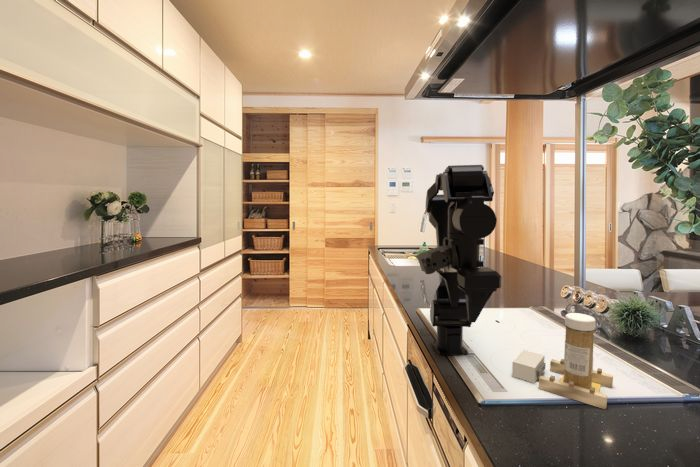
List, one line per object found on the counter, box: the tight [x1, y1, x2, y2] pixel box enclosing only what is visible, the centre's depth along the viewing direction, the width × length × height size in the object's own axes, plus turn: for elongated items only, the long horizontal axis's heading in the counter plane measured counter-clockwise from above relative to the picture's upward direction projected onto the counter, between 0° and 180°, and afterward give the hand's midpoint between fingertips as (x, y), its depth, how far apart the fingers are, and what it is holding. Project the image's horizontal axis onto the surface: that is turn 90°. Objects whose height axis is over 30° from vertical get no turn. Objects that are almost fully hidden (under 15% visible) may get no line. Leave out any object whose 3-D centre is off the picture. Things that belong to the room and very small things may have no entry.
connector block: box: [511, 349, 546, 384], centre depth 69 cm, size 4×7×3 cm, turn 138°
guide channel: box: [538, 358, 614, 410], centre depth 64 cm, size 10×10×3 cm
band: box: [559, 374, 602, 393], centre depth 64 cm, size 6×7×1 cm
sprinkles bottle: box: [563, 312, 597, 390], centre depth 63 cm, size 5×5×13 cm
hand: (462, 313), depth 67 cm, fingers open, 9 cm apart
